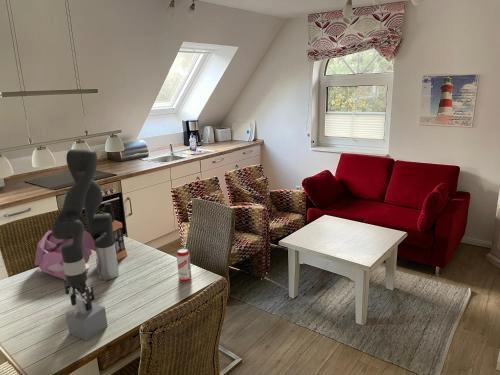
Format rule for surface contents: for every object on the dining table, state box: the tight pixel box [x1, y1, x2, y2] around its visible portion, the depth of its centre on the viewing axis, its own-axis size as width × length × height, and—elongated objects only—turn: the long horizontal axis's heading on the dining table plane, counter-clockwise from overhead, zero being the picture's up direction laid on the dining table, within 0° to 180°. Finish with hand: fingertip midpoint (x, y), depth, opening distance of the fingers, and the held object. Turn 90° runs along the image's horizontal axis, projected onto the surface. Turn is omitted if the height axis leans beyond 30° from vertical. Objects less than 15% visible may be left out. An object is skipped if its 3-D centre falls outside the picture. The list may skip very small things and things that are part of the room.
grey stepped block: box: [65, 293, 109, 342], centre depth 151 cm, size 10×10×15 cm
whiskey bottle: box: [100, 202, 128, 262], centre depth 211 cm, size 10×10×32 cm
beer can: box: [176, 247, 192, 284], centre depth 186 cm, size 6×6×16 cm
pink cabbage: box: [34, 229, 96, 281], centre depth 197 cm, size 35×24×28 cm
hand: (81, 307), depth 149 cm, fingers open, 8 cm apart
